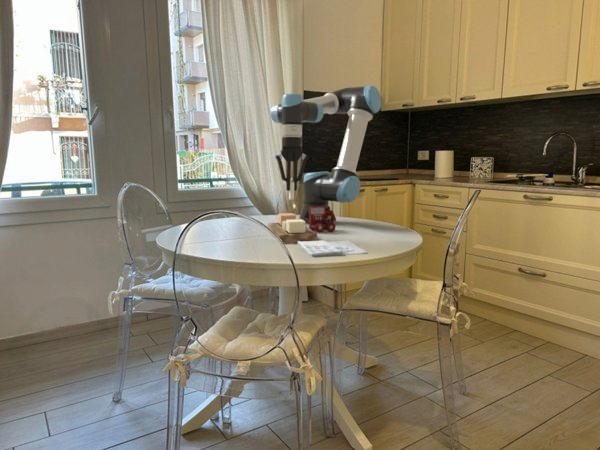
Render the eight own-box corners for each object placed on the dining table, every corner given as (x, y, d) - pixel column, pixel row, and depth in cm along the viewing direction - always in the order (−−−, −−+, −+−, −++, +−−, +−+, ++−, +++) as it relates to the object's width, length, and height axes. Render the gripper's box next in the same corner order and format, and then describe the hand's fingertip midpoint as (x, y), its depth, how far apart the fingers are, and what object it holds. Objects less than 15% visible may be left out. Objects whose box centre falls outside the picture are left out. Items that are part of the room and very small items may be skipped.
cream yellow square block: (301, 229, 165) (301, 219, 164) (305, 232, 159) (305, 221, 158) (286, 230, 163) (286, 219, 163) (289, 233, 158) (289, 222, 157)
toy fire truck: (339, 231, 180) (340, 206, 178) (312, 233, 175) (312, 207, 173) (331, 228, 186) (332, 204, 184) (305, 230, 181) (305, 205, 179)
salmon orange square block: (292, 222, 180) (292, 213, 179) (295, 225, 174) (295, 215, 174) (278, 223, 179) (278, 213, 178) (281, 225, 173) (281, 215, 172)
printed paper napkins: (296, 245, 154) (296, 239, 154) (350, 243, 159) (350, 237, 159) (310, 258, 136) (310, 252, 136) (370, 255, 141) (370, 249, 140)
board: (300, 229, 183) (300, 221, 183) (317, 241, 158) (317, 233, 158) (268, 230, 180) (268, 222, 180) (279, 243, 155) (279, 234, 155)
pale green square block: (296, 230, 173) (296, 220, 172) (300, 233, 167) (300, 223, 166) (282, 230, 171) (282, 220, 171) (284, 233, 166) (285, 223, 165)
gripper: (276, 136, 158) (276, 200, 162) (311, 136, 161) (310, 200, 165) (273, 136, 165) (273, 198, 169) (306, 137, 168) (305, 197, 172)
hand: (291, 199), depth 167 cm, fingers closed
